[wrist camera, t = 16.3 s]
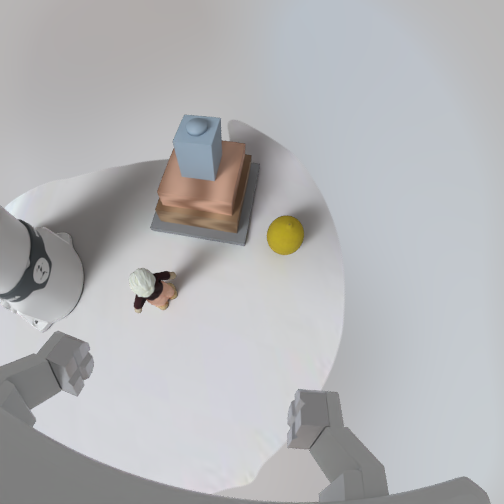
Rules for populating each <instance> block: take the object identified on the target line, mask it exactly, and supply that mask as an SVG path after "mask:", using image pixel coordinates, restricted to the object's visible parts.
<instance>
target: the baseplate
mask: <svg viewBox="0 0 504 504" xmlns="http://www.w3.org/2000/svg"><path fill="white" fill-rule="evenodd" d="M259 166H260V164H257V163H251V167H250V173H249V178H248V183H247V187H246V192H245V197H244V202H243V207H242V211H241V216H240V221H239V226H238V231H237V233H231V232H225V231H219V230H213V229H207V228H201V227H195V226H189V225H183V224H176V223H170V222H164V221H161V220H160V218H159V216H158V214H157V212H155V215H154V218H153V221H152V224H151V227H150V228H151V230H154V231H160V232H166V233H172V234H178V235H183V236H189V237H195V238H201V239H207V240H213V241H219V242H225V243H230V244H236V245H242V246H245V240H246V235H247V230H248V224H249V219H250V214H251V208H252V203H253V198H254V193H255V187H256V182H257V177H258V172H259Z"/></svg>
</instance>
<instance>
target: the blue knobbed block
mask: <svg viewBox="0 0 504 504" xmlns="http://www.w3.org/2000/svg"><path fill="white" fill-rule="evenodd" d="M173 145H174V149H175V153H176V157H177V161H178V164H179V168H180V172H181V176H182V177H187V178H195V179H203V180H210V181H215V179H216V175H217V171H218V168H219V164H220V161H221V157H222V140H221V118H216V117H206V116H194V115H184V117H183V119H182V121H181V123H180V126H179V128H178V130H177V132H176V135H175V137H174V139H173Z"/></svg>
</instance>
